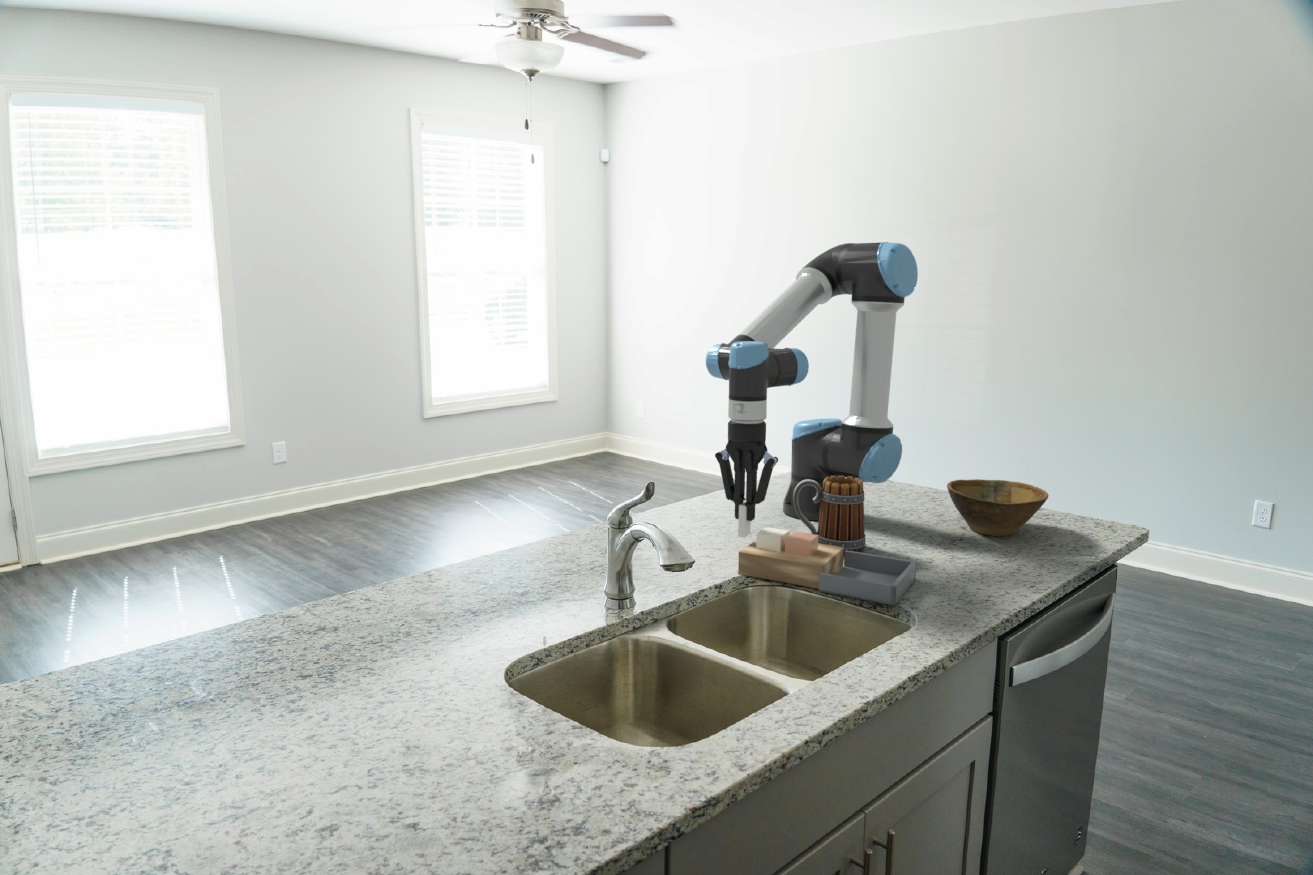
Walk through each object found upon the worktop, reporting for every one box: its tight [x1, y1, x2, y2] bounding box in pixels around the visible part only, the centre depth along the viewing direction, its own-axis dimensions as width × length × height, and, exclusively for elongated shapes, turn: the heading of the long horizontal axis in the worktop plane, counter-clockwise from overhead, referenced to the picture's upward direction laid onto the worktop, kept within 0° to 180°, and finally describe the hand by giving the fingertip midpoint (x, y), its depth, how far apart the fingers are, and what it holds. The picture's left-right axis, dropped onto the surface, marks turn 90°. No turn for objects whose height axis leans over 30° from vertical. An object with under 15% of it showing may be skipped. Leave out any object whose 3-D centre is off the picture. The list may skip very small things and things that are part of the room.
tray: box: [818, 550, 918, 606], centre depth 168 cm, size 16×14×4 cm
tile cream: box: [755, 526, 791, 552], centre depth 176 cm, size 5×5×3 cm
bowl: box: [946, 479, 1049, 537], centre depth 202 cm, size 22×23×10 cm
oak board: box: [737, 540, 845, 590], centre depth 175 cm, size 13×17×4 cm
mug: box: [793, 476, 866, 556], centre depth 189 cm, size 16×11×15 cm
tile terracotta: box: [785, 530, 818, 557], centre depth 173 cm, size 5×5×3 cm
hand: (744, 535), depth 179 cm, fingers closed
